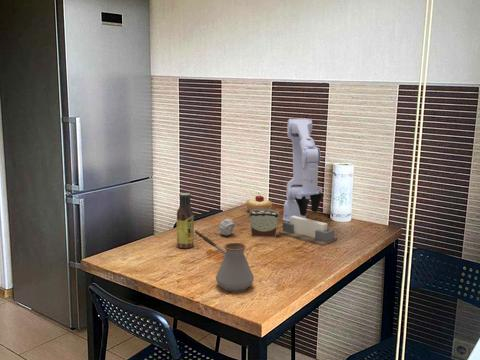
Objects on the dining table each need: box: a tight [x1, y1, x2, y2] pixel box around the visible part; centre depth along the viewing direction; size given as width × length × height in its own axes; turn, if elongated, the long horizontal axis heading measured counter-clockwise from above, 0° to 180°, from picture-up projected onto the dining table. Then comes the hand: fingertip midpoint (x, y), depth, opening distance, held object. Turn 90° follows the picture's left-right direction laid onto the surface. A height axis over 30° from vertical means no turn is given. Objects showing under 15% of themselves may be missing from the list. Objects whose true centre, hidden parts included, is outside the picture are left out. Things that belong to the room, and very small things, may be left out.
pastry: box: [245, 192, 273, 213], centre depth 244 cm, size 12×12×9 cm
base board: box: [278, 230, 338, 246], centre depth 209 cm, size 21×10×1 cm, turn 48°
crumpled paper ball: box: [218, 218, 236, 236], centre depth 209 cm, size 6×7×7 cm
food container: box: [247, 209, 281, 239], centre depth 210 cm, size 12×6×10 cm, turn 84°
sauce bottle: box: [176, 192, 195, 249], centre depth 195 cm, size 7×6×20 cm
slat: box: [290, 216, 328, 238], centre depth 209 cm, size 16×2×6 cm, turn 48°
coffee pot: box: [192, 230, 255, 293], centre depth 162 cm, size 21×12×15 cm, turn 56°
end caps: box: [282, 220, 335, 242], centre depth 209 cm, size 20×6×4 cm, turn 48°
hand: (308, 213), depth 208 cm, fingers open, 7 cm apart
